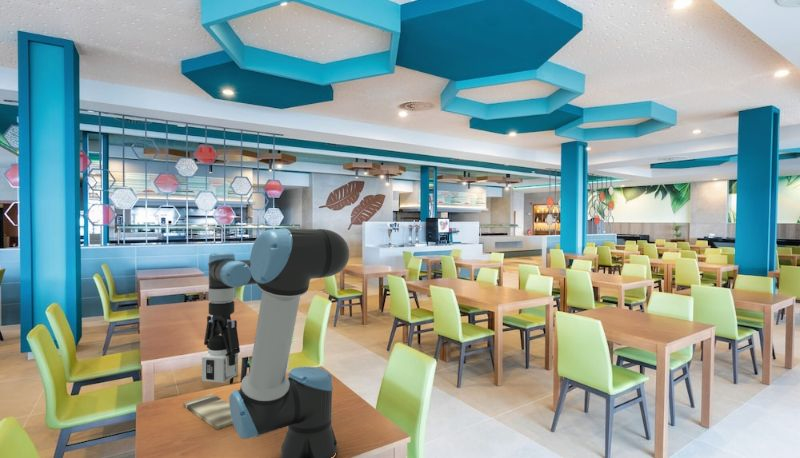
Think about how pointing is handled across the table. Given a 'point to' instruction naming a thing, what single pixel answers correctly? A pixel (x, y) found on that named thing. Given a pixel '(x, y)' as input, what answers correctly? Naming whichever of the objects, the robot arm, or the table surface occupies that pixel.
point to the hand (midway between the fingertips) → (221, 371)
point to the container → (216, 361)
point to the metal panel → (211, 410)
